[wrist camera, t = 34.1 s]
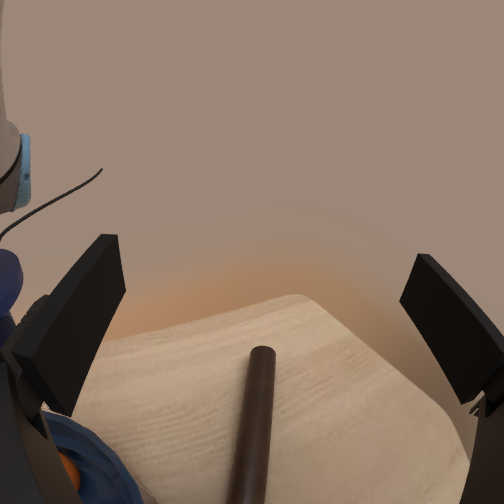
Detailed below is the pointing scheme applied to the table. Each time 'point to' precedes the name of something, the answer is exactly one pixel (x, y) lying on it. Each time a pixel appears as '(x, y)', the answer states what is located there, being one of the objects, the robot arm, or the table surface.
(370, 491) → the table surface
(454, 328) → the robot arm
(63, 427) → the bowl
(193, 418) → the table surface
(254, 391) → the stick
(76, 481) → the ball
